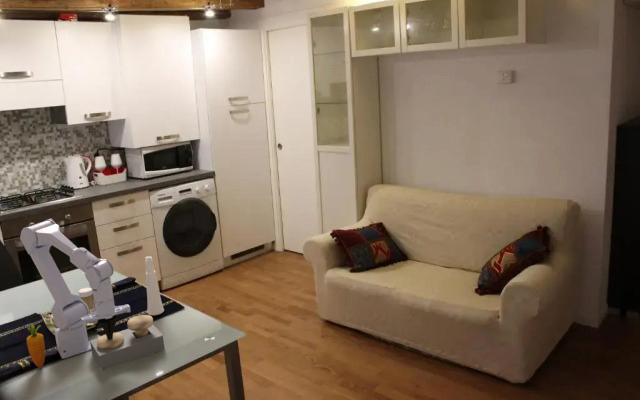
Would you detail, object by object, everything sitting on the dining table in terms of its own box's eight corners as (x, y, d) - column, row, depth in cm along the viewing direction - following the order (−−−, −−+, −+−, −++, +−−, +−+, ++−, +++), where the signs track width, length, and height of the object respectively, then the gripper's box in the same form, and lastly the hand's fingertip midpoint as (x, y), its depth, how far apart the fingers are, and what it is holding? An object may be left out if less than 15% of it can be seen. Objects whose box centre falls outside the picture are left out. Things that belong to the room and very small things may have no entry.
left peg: (103, 365, 173) (100, 348, 172) (96, 354, 180) (93, 337, 178) (128, 356, 178) (126, 339, 176) (121, 346, 184) (119, 330, 183)
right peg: (133, 346, 178) (131, 329, 176) (126, 336, 184) (124, 319, 183) (158, 338, 182) (156, 321, 181) (150, 328, 189) (148, 312, 187)
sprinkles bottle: (98, 324, 201) (93, 290, 198) (85, 328, 199) (79, 293, 195) (95, 319, 205) (90, 286, 202) (82, 323, 203) (77, 289, 199)
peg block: (101, 370, 171) (99, 356, 170) (92, 354, 181) (89, 340, 180) (164, 349, 182) (162, 335, 181) (152, 335, 192) (150, 321, 190)
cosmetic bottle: (143, 314, 208) (136, 259, 202) (154, 307, 213) (147, 253, 207) (157, 316, 205) (149, 260, 200) (167, 309, 211) (160, 254, 205)
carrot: (35, 364, 177) (27, 321, 173) (51, 363, 177) (43, 320, 173) (29, 373, 172) (20, 329, 168) (45, 371, 172) (37, 327, 168)
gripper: (82, 310, 166) (89, 350, 170) (130, 296, 174) (136, 335, 178) (76, 302, 172) (83, 341, 176) (124, 289, 180) (129, 327, 183)
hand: (109, 338), depth 177 cm, fingers closed
